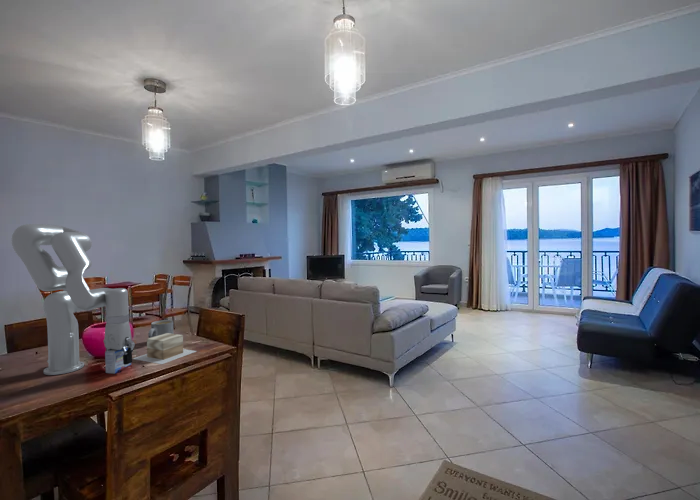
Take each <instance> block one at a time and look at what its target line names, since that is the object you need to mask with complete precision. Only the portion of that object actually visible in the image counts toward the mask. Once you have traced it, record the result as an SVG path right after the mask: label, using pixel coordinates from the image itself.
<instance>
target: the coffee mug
mask: <svg viewBox="0 0 700 500" xmlns="http://www.w3.org/2000/svg"><path fill="white" fill-rule="evenodd" d="M150 327H151V328H150V329H149V330H148V334H147V336H148V338H151V337H155V336H158V335H162V334H165V333H171V334H174V320H171V319H162V320H156V321H153V322H151V324H150Z"/></svg>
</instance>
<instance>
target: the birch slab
mask: <svg viewBox="0 0 700 500" xmlns="http://www.w3.org/2000/svg"><path fill="white" fill-rule="evenodd" d="M181 344H183V345H184V335H183V334H177V333H173V334H171V333H165V334H162V335H158V336H155V337H151V338H149V337H148V338H146V349H147V348H151V349H157V350H166V349H169V348H172V347H175V346H178V345H181Z"/></svg>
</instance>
